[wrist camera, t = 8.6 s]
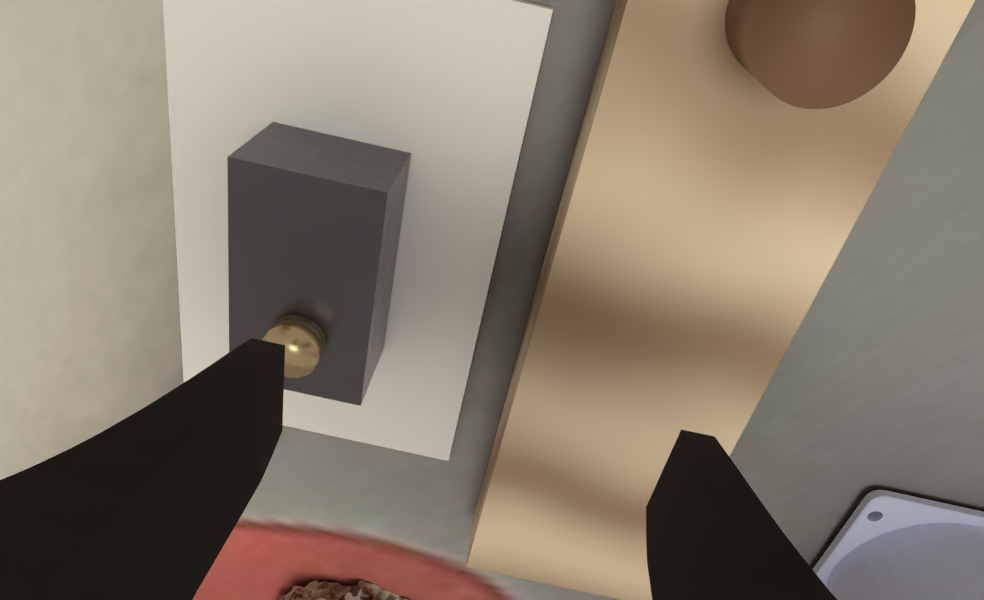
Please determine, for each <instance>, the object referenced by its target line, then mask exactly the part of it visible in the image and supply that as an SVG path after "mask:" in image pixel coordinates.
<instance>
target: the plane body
mask: <svg viewBox="0 0 984 600" xmlns="http://www.w3.org/2000/svg"><path fill="white" fill-rule="evenodd" d="M974 1H975V0H616V2H615V6H614V9H613V13H612V17H611V20H610V24H609V28H608V31H607V35H606V38H605V42H604V46H603V49H602V53H601V57H600V60H599V64H598V67H597V71H596V75H595V78H594V82H593V85H592V89H591V93H590V96H589V100H588V104H587V107H586V111H585V114H584V118H583V122H582V125H581V129H580V133H579V136H578V140H577V143H576V147H575V151H574V154H573V158H572V161H571V165H570V169H569V172H568V176H567V180H566V183H565V187H564V190H563V194H562V198H561V201H560V205H559V209H558V212H557V216H556V219H555V223H554V227H553V230H552V234H551V237H550V241H549V245H548V248H547V252H546V256H545V259H544V263H543V266H542V270H541V274H540V277H539V281H538V284H537V288H536V292H535V295H534V299H533V303H532V306H531V310H530V313H529V317H528V321H527V324H526V328H525V332H524V335H523V339H522V342H521V346H520V350H519V353H518V357H517V360H516V364H515V368H514V371H513V375H512V379H511V382H510V386H509V389H508V393H507V397H506V400H505V404H504V408H503V411H502V415H501V418H500V422H499V426H498V429H497V433H496V436H495V440H494V444H493V447H492V451H491V455H490V458H489V462H488V465H487V469H486V473H485V476H484V480H483V484H482V487H481V491H480V494H479V498H478V502H477V505H476V509H475V512H474V518H473V525H472V531H471V538H470V545H469V552H468V559H467V565H466V567H468V568H473V569H478V570H483V571H487V572H492V573H497V574H501V575H506V576H511V577H516V578H520V579H525V580H530V581H534V582H539V583H544V584H549V585H553V586H558V587H563V588H567V589H572V590H577V591H582V592H586V593H591V594H596V595H600V596H605V597H610V598H615V599H619V600H652V594H651V587H650V580H649V572H648V565H647V545H646V506H647V504H648V502H649V500H650V497H651V495H652V493H653V491H654V489H655V486H656V484H657V482H658V480H659V478H660V475H661V473H662V471H663V469H664V466H665V464H666V462H667V460H668V458H669V455H670V453H671V451H672V449H673V447H674V444H675V442H676V440H677V438H678V436H679V433H680V431H681V429H682V430H686V431H691V432H696V433H700V434H705V435H710V436H714V437H715V438H716V439H717V440H718V442H719V443H720V444H721V446H722V447H723V449H724V450H725V451H726V453H727V454H728V456H730V454H731V453H732V451H733V449H734V447H735V445H736V443H737V441H738V440H739V438H740V436H741V434H742V432H743V430H744V428H745V427H746V425H747V423H748V421H749V419H750V417H751V415H752V414H753V412H754V410H755V408H756V406H757V404H758V402H759V401H760V399H761V397H762V395H763V393H764V391H765V389H766V388H767V386H768V384H769V382H770V380H771V378H772V376H773V375H774V373H775V371H776V369H777V367H778V365H779V363H780V362H781V360H782V358H783V356H784V354H785V352H786V350H787V349H788V347H789V345H790V343H791V341H792V339H793V337H794V336H795V334H796V332H797V330H798V328H799V326H800V324H801V323H802V321H803V319H804V317H805V315H806V313H807V311H808V310H809V308H810V306H811V304H812V302H813V300H814V298H815V297H816V295H817V293H818V291H819V289H820V287H821V285H822V284H823V282H824V280H825V278H826V276H827V274H828V272H829V271H830V269H831V267H832V265H833V263H834V261H835V259H836V258H837V256H838V254H839V252H840V250H841V248H842V246H843V245H844V243H845V241H846V239H847V237H848V235H849V233H850V232H851V230H852V228H853V226H854V224H855V222H856V220H857V219H858V217H859V215H860V213H861V211H862V209H863V207H864V206H865V204H866V202H867V200H868V198H869V196H870V194H871V193H872V191H873V189H874V187H875V185H876V183H877V181H878V180H879V178H880V176H881V174H882V172H883V170H884V168H885V167H886V165H887V163H888V161H889V159H890V157H891V155H892V154H893V152H894V150H895V148H896V146H897V144H898V142H899V141H900V139H901V137H902V135H903V133H904V131H905V129H906V128H907V126H908V124H909V122H910V120H911V118H912V116H913V115H914V113H915V111H916V109H917V107H918V105H919V104H920V102H921V100H922V98H923V96H924V94H925V92H926V91H927V89H928V87H929V85H930V83H931V81H932V79H933V78H934V76H935V74H936V72H937V70H938V68H939V66H940V65H941V63H942V61H943V59H944V57H945V55H946V53H947V52H948V50H949V48H950V46H951V44H952V42H953V40H954V39H955V37H956V35H957V33H958V31H959V29H960V27H961V26H962V24H963V22H964V20H965V18H966V16H967V14H968V13H969V11H970V9H971V7H972V5H973V3H974Z"/></svg>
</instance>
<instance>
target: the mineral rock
mask: <svg viewBox="0 0 984 600" xmlns="http://www.w3.org/2000/svg"><path fill="white" fill-rule="evenodd" d="M277 600H409V599H407V598H406V597H401V596H399V595H396V594H393V593H391V592H388V591H385V590H381V588H380V587H379V586H377V585H375V584H371V583H368V582H365V581H359V582H358V585H352V586H344V585H341V584H340V583H331V582H326V581H324V582H319V583H318V581H317V580H316V581H313V582H310V583H309V584H308V585H307V586H305V587H301V586H293V588H292V590H291V591H290V592H289V593H288V594H287V595H282V596H281V597H279V598H278V599H277Z"/></svg>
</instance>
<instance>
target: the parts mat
mask: <svg viewBox="0 0 984 600" xmlns="http://www.w3.org/2000/svg"><path fill="white" fill-rule="evenodd" d="M163 12H164V31H165V49H166V67H167V85H168V104H169V122H170V140H171V159H172V177H173V195H174V213H175V232H176V250H177V268H178V287H179V305H180V323H181V341H182V360H183V378H184V382H186V381H187V380H189V379H190V378H192V377H193V376H195V375H196V374H198V373H199V372H201V371H202V370H204V369H205V368H207V367H208V366H210V365H211V364H213V363H214V362H216V361H217V360H219V359H220V358H222V357H223V356H225V355H226V354H228V353H229V275H228V161H227V157H228V156H229V155H230V154H232V153H233V152H234V151H236V150H237V149H238V148H240V147H241V146H242V145H243V144H245V143H246V142H247V141H249V140H250V139H251V138H253V137H254V136H255V135H257V134H258V133H259V132H260V131H262V130H263V129H264V128H266V127H267V126H268V125H270V124H271V123H272V122H276V123H281V124H285V125H289V126H294V127H298V128H303V129H307V130H312V131H316V132H320V133H325V134H329V135H334V136H338V137H342V138H347V139H351V140H356V141H360V142H364V143H369V144H373V145H378V146H382V147H387V148H391V149H395V150H400V151H404V152H409V153H412V154H411V161H410V168H409V175H408V182H407V189H406V196H405V203H404V210H403V217H402V224H401V231H400V238H399V245H398V252H397V259H396V266H395V273H394V280H393V287H392V294H391V301H390V308H389V315H388V322H387V329H386V336H385V343H384V349H383V352H382V354H381V356H380V359H379V361H378V364H377V366H376V369H375V371H374V374H373V376H372V379H371V381H370V384H369V386H368V389H367V391H366V394H365V396H364V399H363V401H362V404H361V406H359V405H354V404H350V403H345V402H340V401H336V400H331V399H326V398H322V397H317V396H313V395H308V394H303V393H299V392H294V391H290V390H285V389H284V393H283V424H282V425H284V426H289V427H293V428H298V429H303V430H307V431H312V432H316V433H321V434H326V435H330V436H335V437H340V438H344V439H349V440H353V441H358V442H363V443H367V444H372V445H377V446H381V447H386V448H391V449H395V450H400V451H404V452H409V453H414V454H418V455H423V456H428V457H432V458H437V459H441V460H446V461H449V456H450V452H451V448H452V443H453V439H454V435H455V430H456V426H457V422H458V417H459V413H460V409H461V404H462V400H463V396H464V392H465V387H466V383H467V379H468V374H469V370H470V366H471V361H472V357H473V353H474V348H475V344H476V340H477V336H478V331H479V327H480V323H481V318H482V314H483V310H484V305H485V301H486V297H487V292H488V288H489V284H490V279H491V275H492V271H493V267H494V262H495V258H496V254H497V249H498V245H499V241H500V236H501V232H502V228H503V223H504V219H505V215H506V210H507V206H508V202H509V198H510V193H511V189H512V185H513V180H514V176H515V172H516V167H517V163H518V159H519V154H520V150H521V146H522V141H523V137H524V133H525V129H526V124H527V120H528V116H529V111H530V107H531V103H532V98H533V94H534V90H535V85H536V81H537V77H538V73H539V68H540V64H541V60H542V55H543V51H544V47H545V42H546V38H547V34H548V29H549V25H550V21H551V16H552V12H553V7H548V6H544V5H540V4H536V3H531V2H527V1H523V0H163Z"/></svg>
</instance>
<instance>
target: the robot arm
mask: <svg viewBox="0 0 984 600" xmlns="http://www.w3.org/2000/svg"><path fill="white" fill-rule="evenodd" d="M284 363H285V345H282V344H277V343H272V342H267V341H263V340H258V339H253V338H251V339H249V340H248V341H246V342H244V343H243V344H241V345H240V346H238V347H237V348H235V349H234V350H232V351H231V352H229V353H228V354H226V355H225V356H223V357H222V358H220V359H219V360H217V361H216V362H214V363H213V364H211V365H210V366H208V367H207V368H205V369H204V370H202V371H201V372H199V373H198V374H196V375H195V376H193V377H192V378H190V379H189V380H187V381H186V382H184V383H183V384H181V385H180V386H178V387H176V388H175V389H173V390H172V391H170V392H169V393H167V394H165V395H164V396H162V397H161V398H159V399H158V400H156V401H154V402H153V403H151V404H150V405H148V406H146V407H145V408H143V409H141V410H140V411H138V412H136V413H134V414H133V415H131V416H129V417H127V418H126V419H124V420H122V421H120V422H119V423H117V424H115V425H114V426H112V427H110V428H108V429H107V430H105V431H103V432H101V433H100V434H98V435H96V436H94V437H92V438H90V439H88V440H86V441H84V442H83V443H81V444H79V445H77V446H75V447H73V448H71V449H69V450H67V451H64V452H62V453H60V454H58V455H56V456H54V457H52V458H50V459H48V460H46V461H44V462H41V463H39V464H37V465H35V466H33V467H31V468H28V469H26V470H24V471H22V472H19V473H17V474H14V475H12V476H9V477H7V478H5V479H2V480H0V600H192V599H193V597H194V596H195V594H196V592H197V590H198V588H199V586H200V585H201V583H202V581H203V580H204V578H205V576H206V574H207V573H208V571H209V569H210V568H211V566H212V564H213V563H214V561H215V559H216V557H217V556H218V554H219V552H220V551H221V549H222V547H223V545H224V544H225V542H226V540H227V539H228V537H229V535H230V533H231V532H232V530H233V528H234V527H235V525H236V523H237V522H238V520H239V518H240V516H241V515H242V513H243V511H244V509H245V508H246V506H247V504H248V502H249V501H250V499H251V497H252V496H253V494H254V492H255V490H256V489H257V487H258V485H259V483H260V481H261V479H262V477H263V475H264V473H265V470H266V468H267V466H268V464H269V461H270V459H271V457H272V454H273V452H274V449H275V447H276V445H277V442H278V440H279V437H280V435H281V432H282V424H283V393H284ZM874 511H875V512H874ZM871 512H872V513H871ZM646 545H647V565H648V572H649V580H650V587H651V594H652V600H984V512H983V511H978V510H973V509H969V508H964V507H960V506H955V505H951V504H946V503H941V502H937V501H932V500H928V499H923V498H918V497H914V496H909V495H905V494H900V493H896V492H891V491H886V490H874V491H872V492H870V493H868V494H867V495H866V496H865V497H864V498H863V500H862V501H861V503H860V504H859V505H858V507H857V508H856V510H855V511H854V512H853V514H852V515H851V516H850V518H849V519H848V521H847V522H846V523H845V525H844V526H843V528H842V529H841V530H840V532H839V533H838V535H837V536H836V537H835V539H834V540H833V542H832V543H831V544H830V546H829V547H828V549H827V550H826V551H825V553H824V554H823V555H822V557H821V558H820V560H819V561H818V562H817V564H816V565H815V567H814V568H813V569H811V567H810V566H809V565H808V564H807V563H806V561H805V560H804V559H803V558H802V556H801V555H800V554H799V552H798V551H797V550H796V549H795V547H794V546H793V545H792V543H791V542H790V541H789V540H788V538H787V537H786V536H785V534H784V533H783V532H782V530H781V529H780V528H779V526H778V525H777V524H776V522H775V521H774V519H773V518H772V517H771V515H770V514H769V513H768V511H767V510H766V508H765V507H764V506H763V504H762V503H761V501H760V500H759V499H758V497H757V496H756V494H755V493H754V492H753V490H752V489H751V487H750V486H749V484H748V483H747V482H746V480H745V479H744V477H743V476H742V474H741V473H740V472H739V470H738V469H737V467H736V466H735V464H734V463H733V461H732V460H731V459H730V457H729V456H728V454H727V453H726V451H725V450H724V449H723V447H722V446H721V444H720V443H719V442H718V440H717V439H716V438H715V437H714V436H710V435H705V434H700V433H696V432H691V431H686V430H682V429H681V431H680V433H679V436H678V438H677V440H676V442H675V444H674V447H673V449H672V451H671V453H670V455H669V458H668V460H667V462H666V464H665V466H664V469H663V471H662V473H661V475H660V478H659V480H658V482H657V484H656V486H655V489H654V491H653V493H652V495H651V497H650V500H649V502H648V504H647V506H646Z"/></svg>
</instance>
